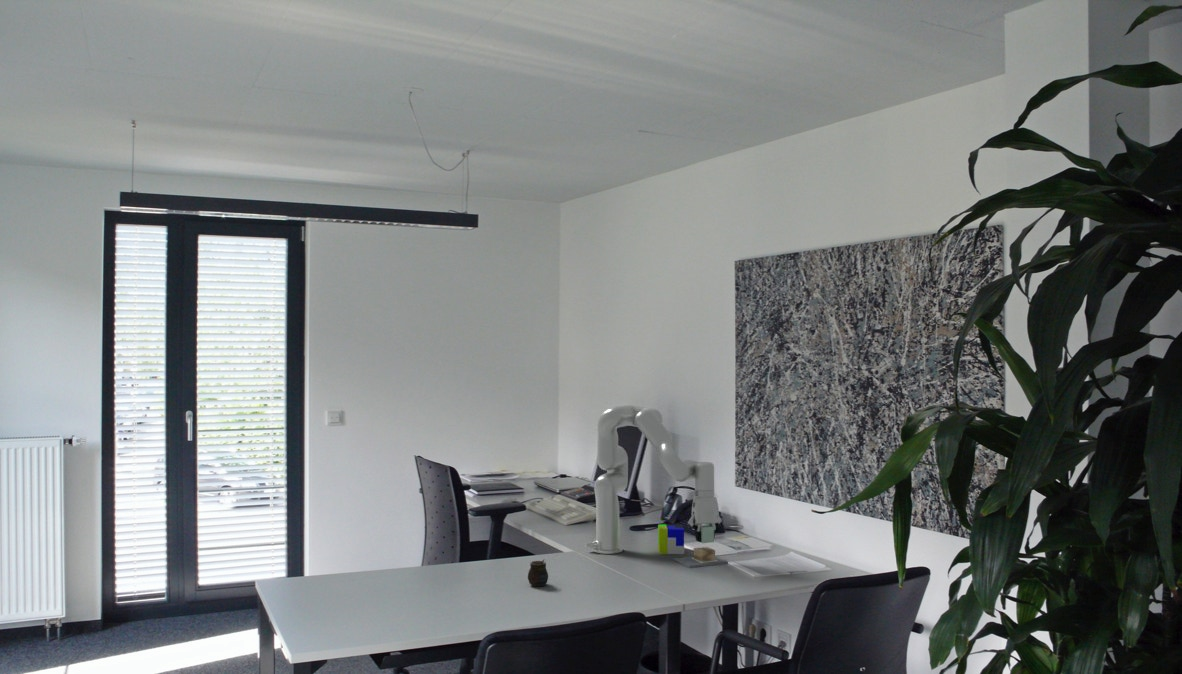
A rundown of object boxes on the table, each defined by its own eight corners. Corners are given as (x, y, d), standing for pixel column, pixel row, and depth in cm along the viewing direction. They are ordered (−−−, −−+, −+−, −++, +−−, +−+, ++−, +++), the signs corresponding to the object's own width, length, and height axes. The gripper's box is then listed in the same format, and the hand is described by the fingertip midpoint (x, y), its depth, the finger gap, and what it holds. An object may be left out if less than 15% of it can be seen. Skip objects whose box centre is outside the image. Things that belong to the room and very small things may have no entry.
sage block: (702, 543, 339) (702, 527, 339) (696, 540, 344) (696, 525, 344) (713, 542, 341) (713, 526, 341) (707, 539, 345) (707, 524, 345)
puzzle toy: (684, 554, 355) (684, 529, 355) (659, 554, 355) (659, 529, 355) (682, 548, 365) (682, 524, 365) (658, 548, 365) (658, 524, 365)
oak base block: (701, 561, 338) (701, 551, 338) (694, 558, 344) (694, 548, 344) (715, 560, 340) (715, 550, 341) (707, 557, 346) (707, 546, 346)
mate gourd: (538, 581, 314) (539, 553, 314) (553, 585, 308) (553, 557, 308) (523, 584, 308) (524, 556, 309) (537, 589, 303) (538, 560, 303)
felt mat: (689, 567, 333) (689, 565, 333) (674, 560, 344) (674, 558, 344) (728, 563, 339) (728, 561, 339) (712, 556, 350) (712, 554, 350)
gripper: (690, 496, 336) (690, 544, 336) (728, 493, 342) (729, 540, 342) (680, 494, 343) (681, 540, 342) (718, 491, 349) (719, 536, 349)
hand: (705, 540), depth 342 cm, fingers closed on sage block, 5 cm apart
